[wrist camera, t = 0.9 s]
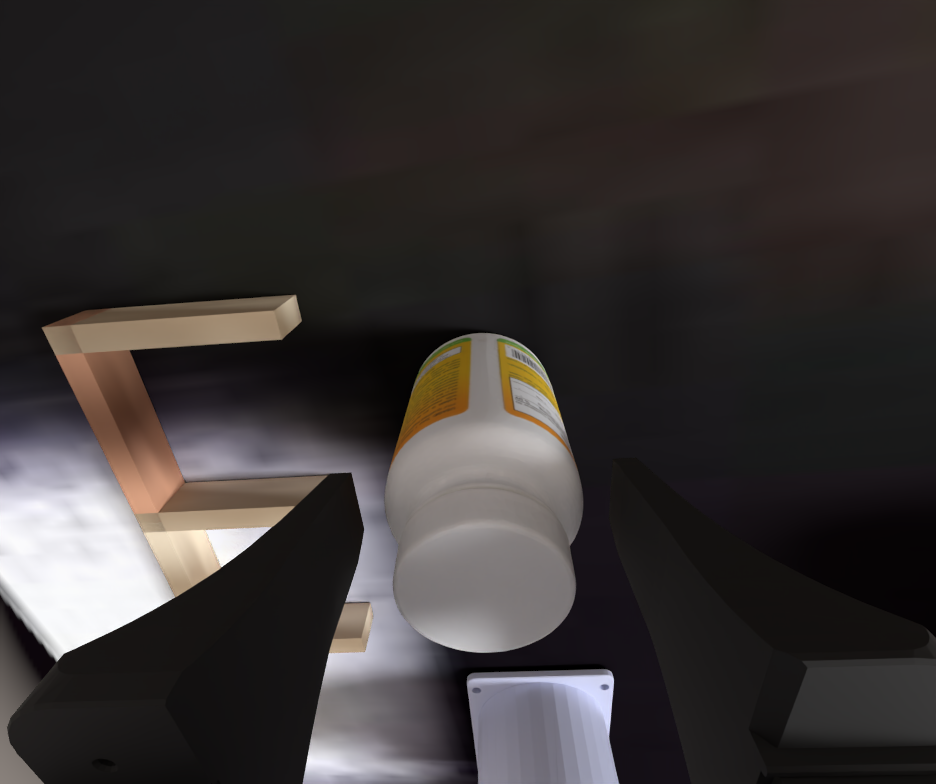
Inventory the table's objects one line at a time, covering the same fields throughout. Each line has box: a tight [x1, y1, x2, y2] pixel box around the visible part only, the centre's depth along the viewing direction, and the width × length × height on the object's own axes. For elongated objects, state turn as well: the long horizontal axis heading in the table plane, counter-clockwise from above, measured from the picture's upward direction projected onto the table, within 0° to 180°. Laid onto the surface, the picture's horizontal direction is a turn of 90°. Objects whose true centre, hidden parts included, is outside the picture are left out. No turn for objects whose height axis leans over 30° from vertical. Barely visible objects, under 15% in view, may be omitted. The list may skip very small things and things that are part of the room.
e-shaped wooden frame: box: [42, 295, 373, 653], centre depth 20 cm, size 17×8×2 cm, turn 5°
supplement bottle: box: [385, 333, 583, 653], centre depth 15 cm, size 5×5×10 cm
